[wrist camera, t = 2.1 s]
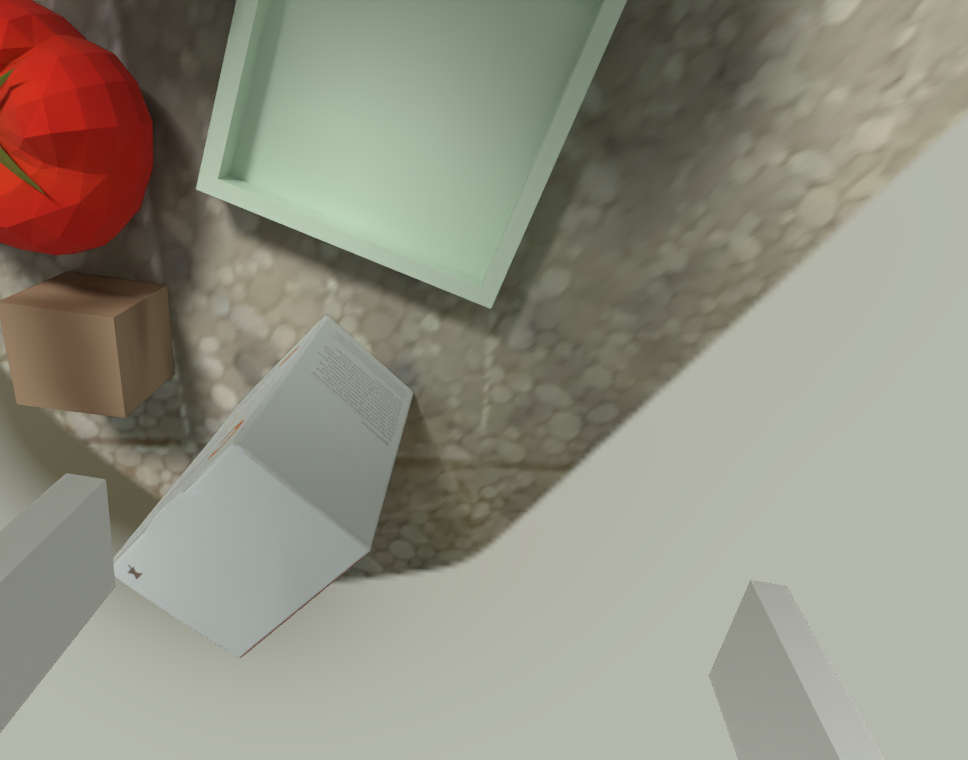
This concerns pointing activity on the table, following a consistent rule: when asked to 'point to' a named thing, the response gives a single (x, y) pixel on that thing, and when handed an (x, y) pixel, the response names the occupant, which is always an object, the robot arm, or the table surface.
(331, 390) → the small box
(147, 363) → the walnut cube
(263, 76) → the tray
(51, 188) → the tomato
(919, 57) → the table surface
